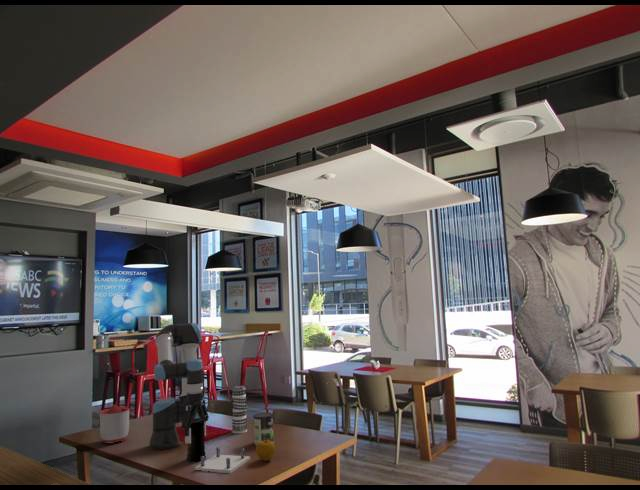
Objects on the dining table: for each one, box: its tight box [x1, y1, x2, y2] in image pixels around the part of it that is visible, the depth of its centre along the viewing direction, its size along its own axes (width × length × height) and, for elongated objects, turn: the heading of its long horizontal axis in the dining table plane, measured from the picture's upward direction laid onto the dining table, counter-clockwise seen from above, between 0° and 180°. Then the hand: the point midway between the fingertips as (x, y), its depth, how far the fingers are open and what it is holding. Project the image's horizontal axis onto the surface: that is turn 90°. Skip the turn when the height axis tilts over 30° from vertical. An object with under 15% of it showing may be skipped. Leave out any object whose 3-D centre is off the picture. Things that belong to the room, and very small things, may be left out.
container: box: [186, 418, 207, 463], centre depth 222 cm, size 9×9×18 cm
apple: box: [255, 440, 276, 462], centre depth 215 cm, size 9×9×9 cm
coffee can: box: [252, 412, 275, 446], centre depth 243 cm, size 10×10×14 cm
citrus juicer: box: [98, 403, 130, 443], centre depth 261 cm, size 16×17×20 cm
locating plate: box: [194, 446, 251, 474], centre depth 212 cm, size 18×18×5 cm
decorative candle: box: [230, 385, 249, 434], centre depth 268 cm, size 9×9×25 cm
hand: (195, 439), depth 222 cm, fingers open, 12 cm apart
